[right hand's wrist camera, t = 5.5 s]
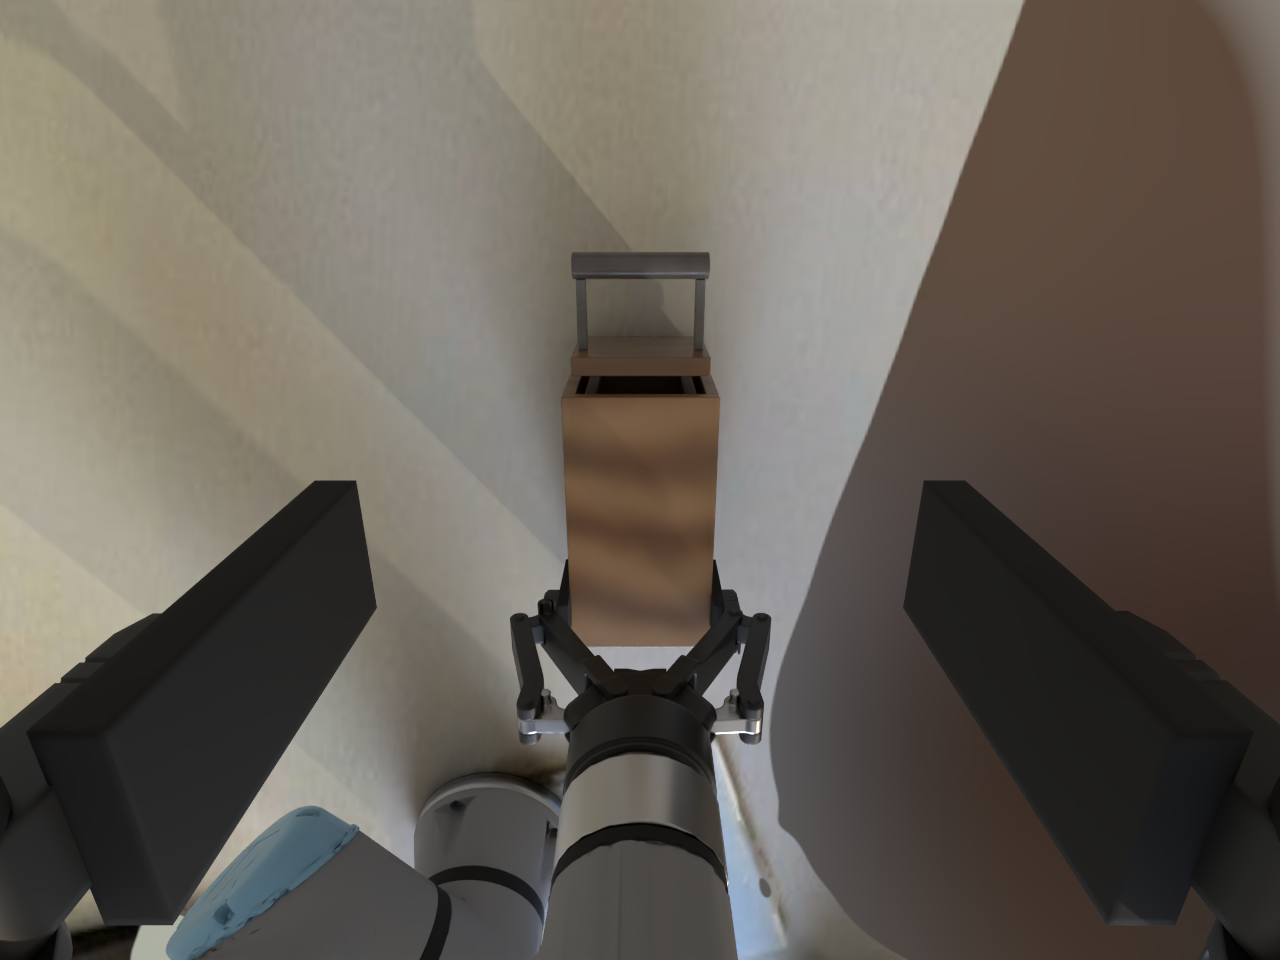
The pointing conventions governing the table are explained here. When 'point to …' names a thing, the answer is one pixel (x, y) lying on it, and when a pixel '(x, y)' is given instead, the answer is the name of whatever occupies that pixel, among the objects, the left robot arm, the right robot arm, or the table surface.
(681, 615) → the wooden drawer box
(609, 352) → the wooden drawer
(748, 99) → the table surface
